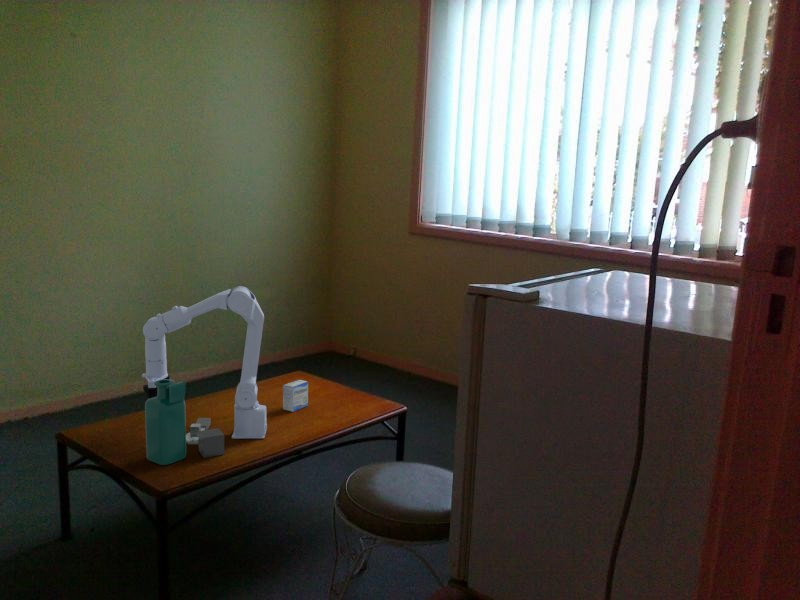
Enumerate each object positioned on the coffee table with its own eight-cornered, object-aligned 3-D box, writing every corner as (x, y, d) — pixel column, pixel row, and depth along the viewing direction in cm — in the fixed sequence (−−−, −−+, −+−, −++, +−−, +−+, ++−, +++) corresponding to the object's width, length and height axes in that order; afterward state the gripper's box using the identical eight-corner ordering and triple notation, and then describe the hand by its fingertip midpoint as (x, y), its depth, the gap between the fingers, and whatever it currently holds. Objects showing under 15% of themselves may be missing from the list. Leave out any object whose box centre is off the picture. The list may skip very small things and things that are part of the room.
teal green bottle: (143, 459, 192) (140, 381, 188) (169, 449, 199) (167, 374, 195) (167, 468, 186) (164, 388, 183) (192, 458, 193) (191, 380, 190)
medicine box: (293, 412, 232) (293, 387, 231) (282, 409, 235) (282, 384, 233) (308, 406, 239) (308, 381, 237) (298, 403, 241) (298, 379, 240)
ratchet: (194, 424, 219) (194, 409, 219) (214, 424, 220) (214, 409, 219) (183, 445, 203) (182, 429, 202) (204, 444, 203) (204, 428, 202)
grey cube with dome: (218, 447, 201) (218, 428, 200) (224, 454, 197) (224, 434, 196) (198, 450, 199) (198, 431, 198) (204, 458, 194) (203, 437, 193)
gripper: (146, 352, 210) (148, 397, 213) (136, 366, 196) (138, 413, 199) (171, 352, 211) (173, 396, 214) (162, 365, 197) (164, 412, 200)
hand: (157, 404), depth 206 cm, fingers open, 7 cm apart
